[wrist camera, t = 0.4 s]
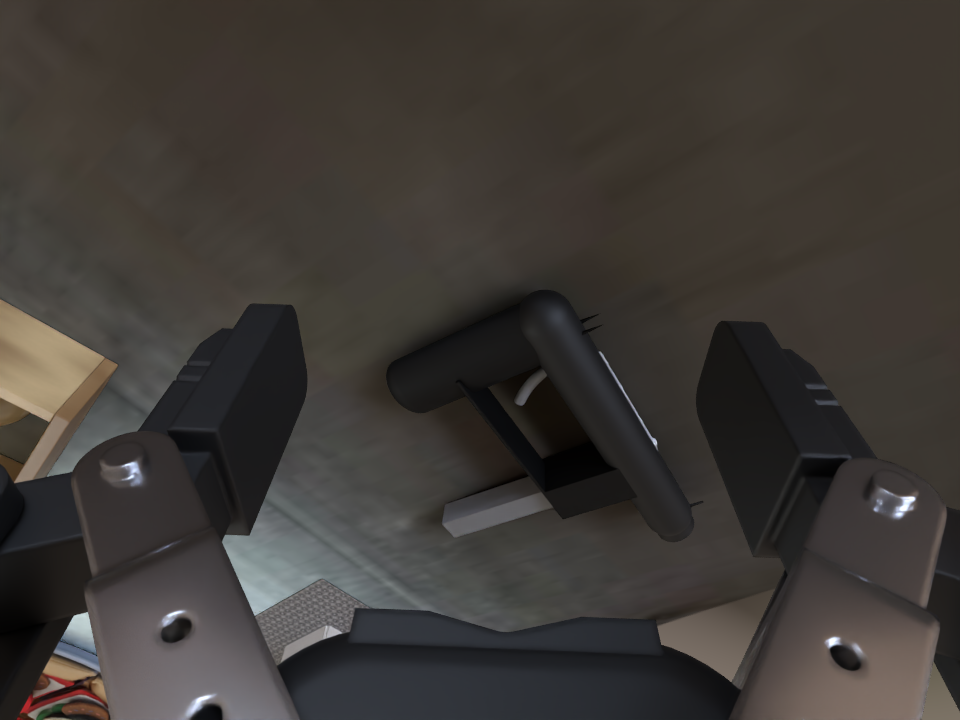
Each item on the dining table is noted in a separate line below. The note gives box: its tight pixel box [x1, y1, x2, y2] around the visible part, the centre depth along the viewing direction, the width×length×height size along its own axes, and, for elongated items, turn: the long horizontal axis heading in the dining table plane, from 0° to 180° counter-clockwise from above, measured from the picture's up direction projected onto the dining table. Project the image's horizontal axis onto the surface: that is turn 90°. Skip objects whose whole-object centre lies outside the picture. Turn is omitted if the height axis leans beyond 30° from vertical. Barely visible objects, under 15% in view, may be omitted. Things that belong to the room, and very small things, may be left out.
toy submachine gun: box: [386, 290, 703, 542], centre depth 37 cm, size 3×20×16 cm
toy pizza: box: [17, 641, 111, 720], centre depth 59 cm, size 28×28×4 cm
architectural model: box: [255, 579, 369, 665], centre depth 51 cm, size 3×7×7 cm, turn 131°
